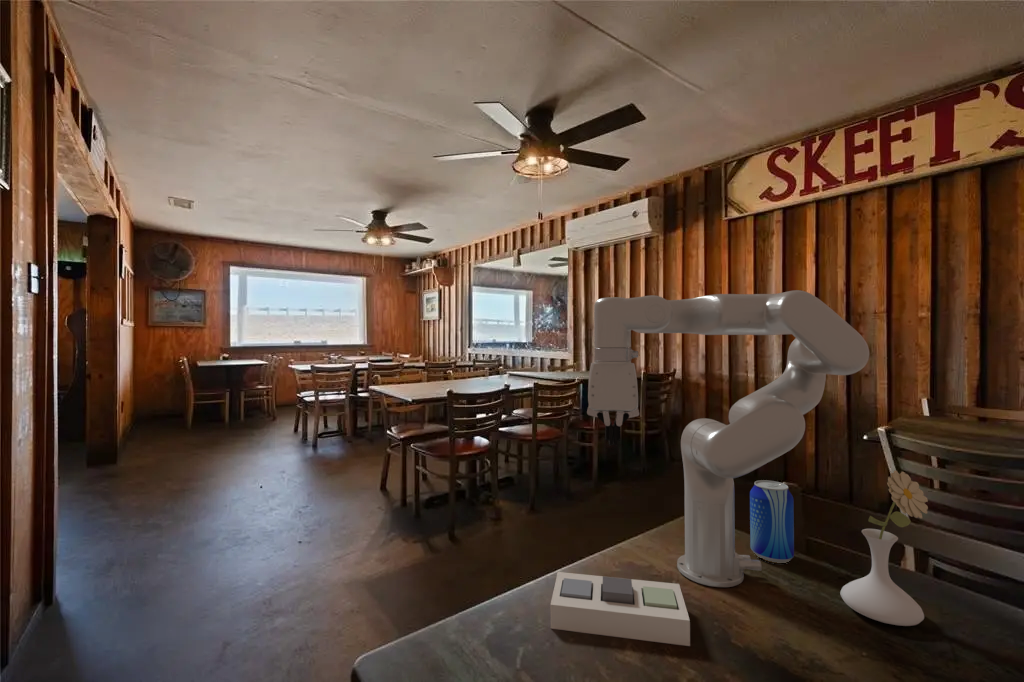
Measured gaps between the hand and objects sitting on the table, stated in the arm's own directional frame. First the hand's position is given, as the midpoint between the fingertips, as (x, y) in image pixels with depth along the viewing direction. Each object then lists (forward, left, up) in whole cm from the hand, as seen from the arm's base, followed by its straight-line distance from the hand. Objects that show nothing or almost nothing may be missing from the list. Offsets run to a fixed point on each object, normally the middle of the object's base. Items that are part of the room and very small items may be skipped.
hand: (612, 443), depth 94 cm
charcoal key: (0, +16, -24) cm, 29 cm away
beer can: (-34, -13, -27) cm, 46 cm away
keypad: (0, +16, -27) cm, 31 cm away
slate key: (+7, +16, -25) cm, 31 cm away
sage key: (-7, +16, -25) cm, 31 cm away
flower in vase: (-46, +6, -27) cm, 54 cm away
